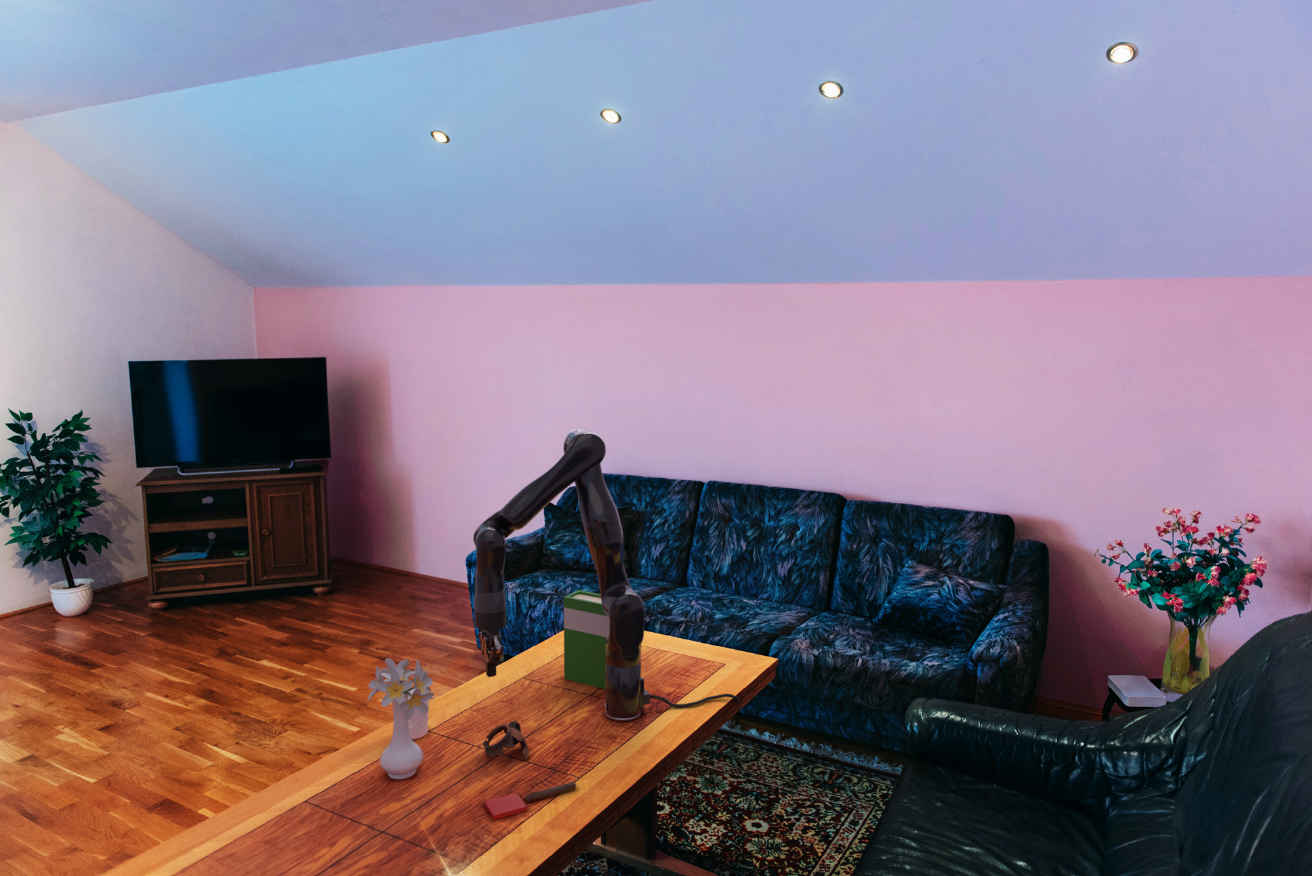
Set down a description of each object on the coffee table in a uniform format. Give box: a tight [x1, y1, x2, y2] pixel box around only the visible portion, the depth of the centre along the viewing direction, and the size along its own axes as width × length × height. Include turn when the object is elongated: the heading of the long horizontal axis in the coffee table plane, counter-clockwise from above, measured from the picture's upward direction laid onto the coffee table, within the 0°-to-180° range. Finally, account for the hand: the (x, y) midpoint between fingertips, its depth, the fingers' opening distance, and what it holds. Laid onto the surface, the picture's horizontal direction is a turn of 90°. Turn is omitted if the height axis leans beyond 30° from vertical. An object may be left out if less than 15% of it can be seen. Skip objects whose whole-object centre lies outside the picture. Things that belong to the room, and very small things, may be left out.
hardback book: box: [563, 589, 610, 690], centre depth 235 cm, size 18×7×24 cm, turn 60°
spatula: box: [484, 781, 577, 821], centre depth 176 cm, size 19×6×2 cm, turn 119°
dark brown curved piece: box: [482, 720, 530, 761], centre depth 195 cm, size 12×10×8 cm
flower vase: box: [367, 657, 435, 780], centre depth 185 cm, size 13×18×25 cm
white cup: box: [407, 689, 430, 740], centre depth 204 cm, size 8×8×10 cm
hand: (491, 675), depth 204 cm, fingers closed
